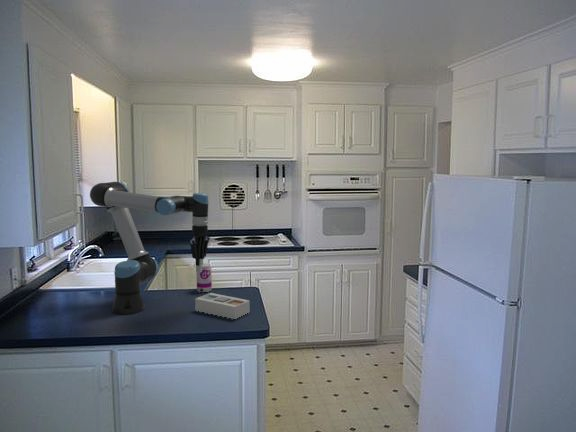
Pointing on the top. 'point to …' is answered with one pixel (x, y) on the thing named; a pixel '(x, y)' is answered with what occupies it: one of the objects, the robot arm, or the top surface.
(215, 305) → the keypad
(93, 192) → the robot arm
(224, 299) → the grey key
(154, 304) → the top surface
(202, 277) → the supplement can
